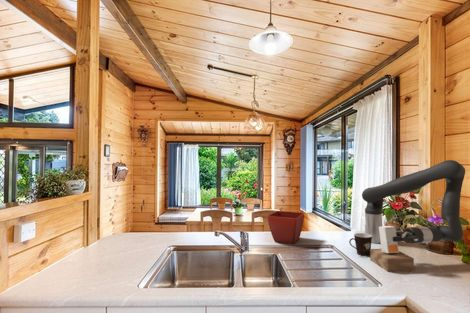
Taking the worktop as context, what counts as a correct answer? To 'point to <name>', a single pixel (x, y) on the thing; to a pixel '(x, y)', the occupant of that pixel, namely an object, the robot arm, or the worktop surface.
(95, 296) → the worktop surface
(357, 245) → the coffee mug
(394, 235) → the skincare box
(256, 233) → the worktop surface
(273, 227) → the plant pot
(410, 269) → the walnut block
